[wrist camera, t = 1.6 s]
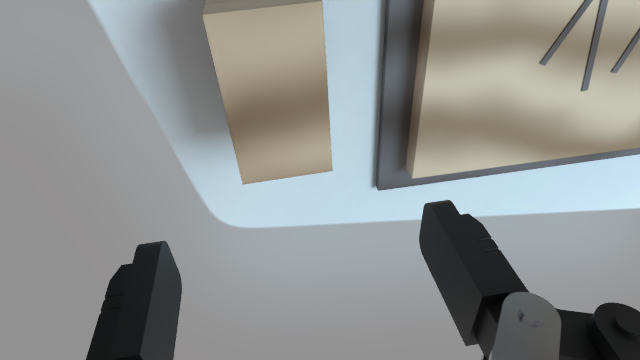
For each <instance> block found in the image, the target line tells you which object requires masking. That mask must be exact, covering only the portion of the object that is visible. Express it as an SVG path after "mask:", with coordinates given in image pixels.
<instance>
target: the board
mask: <svg viewBox="0 0 640 360" xmlns="http://www.w3.org/2000/svg"><path fill="white" fill-rule="evenodd" d="M637 154H640V0H386V17H385V35H384V53H383V71H382V89H381V107H380V125H379V143H378V162H377V180H376V187H377V189H378V191H379V190H387V189H394V188H401V187H408V186H415V185H422V184H430V183H437V182H444V181H451V180H458V179H465V178H473V177H480V176H487V175H494V174H501V173H508V172H516V171H523V170H530V169H537V168H544V167H551V166H559V165H566V164H573V163H580V162H587V161H594V160H602V159H609V158H616V157H623V156H630V155H637Z"/></svg>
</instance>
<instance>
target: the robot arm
mask: <svg viewBox="0 0 640 360" xmlns="http://www.w3.org/2000/svg"><path fill="white" fill-rule="evenodd" d="M419 242H420V248H421V252H422V255H423V257H424V259H425V261H426V263H427V265H428V268H429V270H430V272H431V274H432V276H433V278H434V280H435V282H436V284H437V286H438V288H439V291H440V292H441V295H442V297H443V299H444V301H445V303H446V305H447V307H448V309H449V311H450V314H451V316H452V318H453V320H454V322H455V324H456V326H457V328H458V330H459V333H460V335H461V337H462V339H463V341H464V343H465V345H466V346H469V345H475V344H479V346H480V348H481V350H482V351H483V356H482V359H481V360H640V312H639V311H637V310H636V309H634V308H632V307H629V306H627V305H624V304H619V303H605V304H602V305H600V306H599V307H598V308H597V309H596V311H595V312H594V314H590V313H582V312H574V311H566V310H560V309H556V308H554V307H553V305H552V304H550V303H549V302H548V301H547V300H545V299H544V298H542V297H540V296H538V295H535V294H532V293H530V292H529V291H528V290H527V289H526V287H525V286H524V284H523V283H522V282H521V280H520V279H519V277H518V276H517V274H516V273H515V271H514V270H513V269H512V267H511V265H510V264H509V262H508V261H507V259H506V258H505V257H504V255H503V254H502V252H501V251H500V250H499V249H498V246H497V245H496V243H495V242H494V240H492V239H491V236H490V235H489V233H488V232H487V230H486V229H485V227H484V226H483V224H481V223H480V222H479V221H478V220H476V219H475V218H474V217H472V216H471V215H470V214H463V215H460V214H459V212H458V210H457V209H456V207H455V206H454V204H453V203H452V202H451V201H450V200H445V201H438V202H431V203H426V204H425V205H424V209H423V216H422V223H421V229H420V236H419ZM181 293H182V284H181V277H180V273H179V270H178V268H177V266H176V263H175V261H174V258H173V256H172V253H171V251H170V248H169V246H168V244H167V242H166V241H160V242H154V243H147V244H140V245H138V246H137V248H136V252H135V256H134V260H133V263H132V264H126V265H121V267H120V268H119V269H118V270H117V272H116V273H115V274H114V276H113V277H112V278H111V280H110V282H109V285H108V288H107V292H106V295H105V300H104V302H103V305H102V308H101V314H100V315H99V318H98V321H97V325H96V328H95V331H94V335H93V338H92V341H91V345H90V348H89V351H88V354H87V358H86V360H173V357H174V349H175V340H176V333H177V324H178V316H179V310H180V302H181Z"/></svg>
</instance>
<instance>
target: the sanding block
mask: <svg viewBox="0 0 640 360" xmlns="http://www.w3.org/2000/svg"><path fill="white" fill-rule="evenodd" d="M202 16H203V20H204V25H205V29H206V33H207V37H208V41H209V45H210V50H211V54H212V58H213V62H214V66H215V71H216V75H217V79H218V83H219V87H220V91H221V96H222V100H223V104H224V108H225V112H226V116H227V121H228V125H229V129H230V133H231V137H232V141H233V146H234V150H235V154H236V158H237V162H238V166H239V171H240V175H241V179H242V183H243V184H249V183H256V182H262V181H269V180H276V179H282V178H289V177H295V176H302V175H308V174H315V173H322V172H328V171H332V154H331V137H330V120H329V104H328V87H327V70H326V53H325V36H324V19H323V2H322V0H205V4H204V9H203V14H202Z"/></svg>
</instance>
